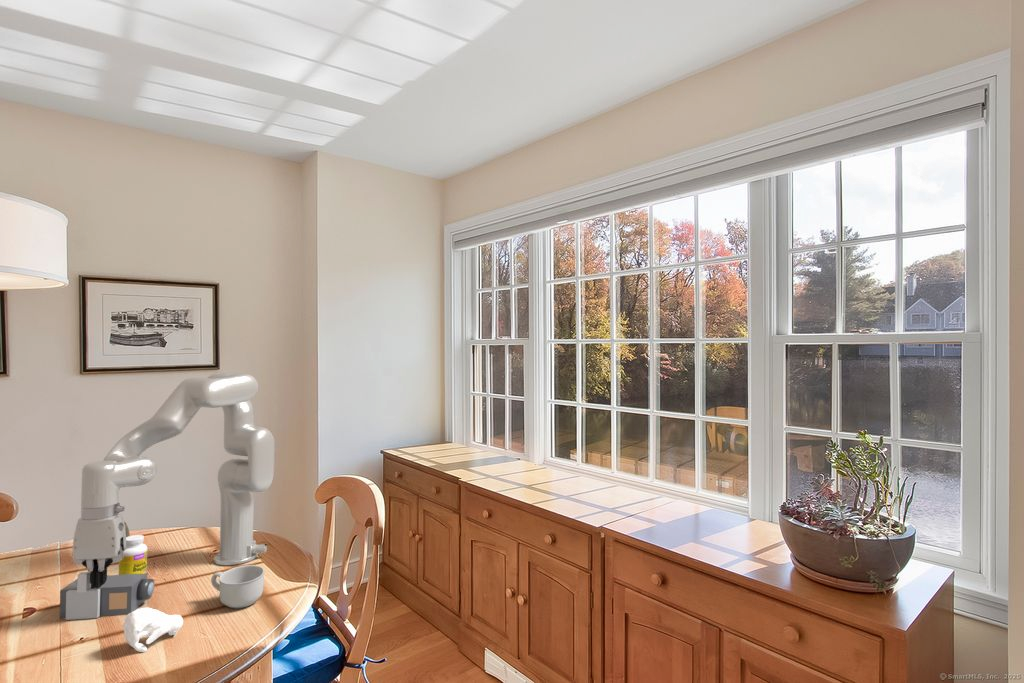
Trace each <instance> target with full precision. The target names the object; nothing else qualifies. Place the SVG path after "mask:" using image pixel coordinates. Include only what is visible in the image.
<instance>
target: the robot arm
mask: <svg viewBox="0 0 1024 683" xmlns="http://www.w3.org/2000/svg"><path fill="white" fill-rule="evenodd" d="M258 391H259V383H258V380H257V379H256V378H255V377H254V376H253V375H251V374H248V373H240V372H239V373H238V372H237V373H235V372H216V373H212V374H210V375H209V376H208V377H189V378H185V379H184V380H182V381H181V382H179V384H178V385H177V387H176V388H175V389H174V390H173V391H172V392H171V394H170V395H169V396H168V397H167V398H166V399H165V401H164V402H163V403H162V405H161V406H159V408H158V410H157V411H156V412H155V413H154V415H152V416H151V417H150V418H148V419H147V420H146V421H144V422H142V423H141V424H139V425H138V426H136V427H135V428H133V429H132V430H130V431H129V432H127V433H126V434H124V436H122V437H121V438H120V439H119V440H118V441H117V442H116V443H115V445H114V446H113V447H112V448H111V449H110V450H109V451H108V453H107V454H106V456H105V457H104V458H103V460H98V461H92V462H88V463H86V464H85V465H83V468H81V470H82V471H81V492H80V493H81V494H80V495H81V496H80V499H81V500H80V502H81V504H80V506H81V507H80V518H78V519H77V523H76V526H75V530H74V535H73V542H72V557H73V561H72V562H73V564H75V565H82V566H83V567H85V568H86V569H87V572H90V584H91V588H95V587H96V588H99V587H101V586H102V585H103V584H105V582H106V580H107V575H108V567H110V566H111V565H112V564H115V563H119V561H121V560H122V559H124V555H123V551H125V550H126V531H125V524H124V521H125V520H124V516H123V514H122V513H124V511H125V508H126V507H125V505H120V504H121V503H120V489H121V488H131V487H139V486H144V485H146V484H149V482H151V481H152V480H153V479H154V478H155V477H156V475H157V472H158V466H157V464H156V462H155V461H154V460H153V459H151V458H149V457H146V456H142V454H143V453H144V452H145V451H146V450H148V449H149V448H151V447H152V446H154V445H157V444H159V443H160V442H161V443H162V442H164V441H166V440H170V439H173V438H175V437H176V436H179V435H180V434H182V433H183V432H184V430H185V429H186V427H187V426H188V425H189V424H190V422H191V421H192V419H193V418H194V417H195V416H196V415H197V413H198V412H199V410H200V409H201V408H206V409H208V408H209V409H210V408H211V409H212V408H213V409H215V408H222V411H223V448H224V451H225V452H226V453H227V454H230V455H233V456H241V457H247V459H245V458H231V459H229V460H226V461H225V462H223V463H222V464H221V466H220V467H219V469H218V470H217V471H218V472H217V483H218V487H219V494H220V513H219V514H220V517H219V518H220V521H219V553H217V554H216V555H214V557H213V563H215V564H217V565H219V566H236V565H241V564H245V563H248V562H251V561H253V560H255V559H256V558H257V557H258V556H259V553H267V551H268V550H267V549H268V547H267V545H265V544H257V542H256V539H255V540H254V513H255V512H254V510H255V506H254V504H255V500H254V496H253V493H260V492H264V491H266V490H267V489H269V488H270V486H271V485H272V483H273V479H274V476H275V474H274V473H275V438H274V435H273V434H272V432H271V431H270V430H269V429H268V428H266V427H262V426H255V421H254V420H255V418H254V417H255V416H254V407H253V404H252V399H253V398H254V397H256V395H257V394H258Z"/></svg>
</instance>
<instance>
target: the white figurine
mask: <svg viewBox="0 0 1024 683" xmlns="http://www.w3.org/2000/svg"><path fill="white" fill-rule="evenodd" d="M183 625H184V619H183V617H182V615H180V614H166V613H165V612H163V611H160V610H158V609H154V608H151V607H142V608H140V607H139V608H137V609H136V610H135V611H133V612H131V613H129V614H126V616H125V618H124V622H123V624H122V628H123V632H124V633H123V634H124V638H125V641H126V643H127V644H129V645H128V646H130V647H132V648H134V650H135V651H137V652H140V653H146V652H147V651H148V648H147V646H146V645H150V644H152V643H153V642H155V641H156V640H157V639H158V638H159V637H161V636H163V635H165V634H166V633H168V636H169V637H171V636H173V637H175V636H176V635H177V633H178V632H179V630H180V629H181V628H182V627H183ZM143 637H147V639H146V641H145V644H146V645H145V644H143V643H140V642H139V641H140V639H142V638H143Z"/></svg>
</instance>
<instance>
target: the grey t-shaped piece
mask: <svg viewBox="0 0 1024 683" xmlns="http://www.w3.org/2000/svg"><path fill="white" fill-rule="evenodd" d="M76 579H77V590H69V591H67V592H66V618H65V621H69V620H70V621H71V620H85V619H98V618H99V617H101V616H100V589H90V572H88V571H85V572H84V571H82V572H80V573H78V574H77V578H76Z"/></svg>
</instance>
